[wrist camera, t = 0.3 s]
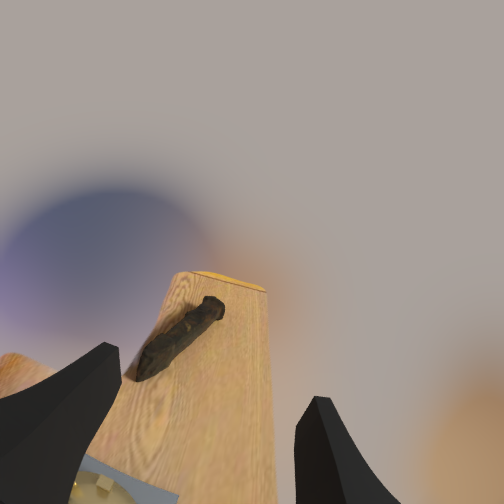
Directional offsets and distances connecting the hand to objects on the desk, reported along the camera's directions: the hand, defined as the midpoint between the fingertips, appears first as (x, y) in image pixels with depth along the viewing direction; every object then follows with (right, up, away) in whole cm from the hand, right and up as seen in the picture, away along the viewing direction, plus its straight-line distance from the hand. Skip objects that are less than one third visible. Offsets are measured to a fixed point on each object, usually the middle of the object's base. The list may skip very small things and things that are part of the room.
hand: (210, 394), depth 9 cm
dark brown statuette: (-8, -8, +29) cm, 31 cm away
